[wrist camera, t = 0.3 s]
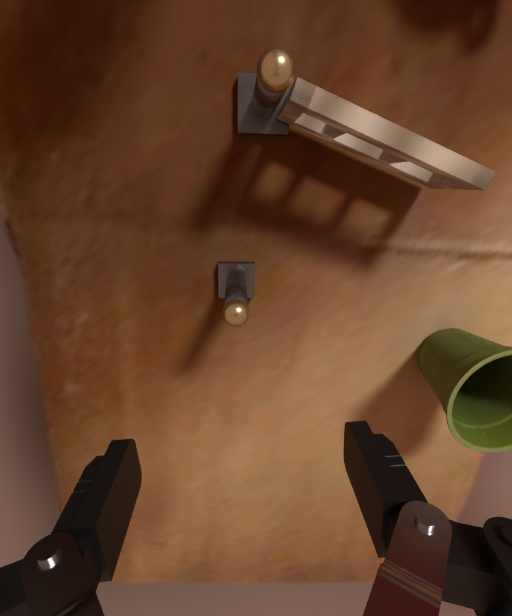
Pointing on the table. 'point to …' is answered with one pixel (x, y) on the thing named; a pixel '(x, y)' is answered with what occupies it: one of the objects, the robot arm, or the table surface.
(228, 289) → the latch post
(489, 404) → the plant pot
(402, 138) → the gate
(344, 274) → the table surface
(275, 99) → the hinge post
